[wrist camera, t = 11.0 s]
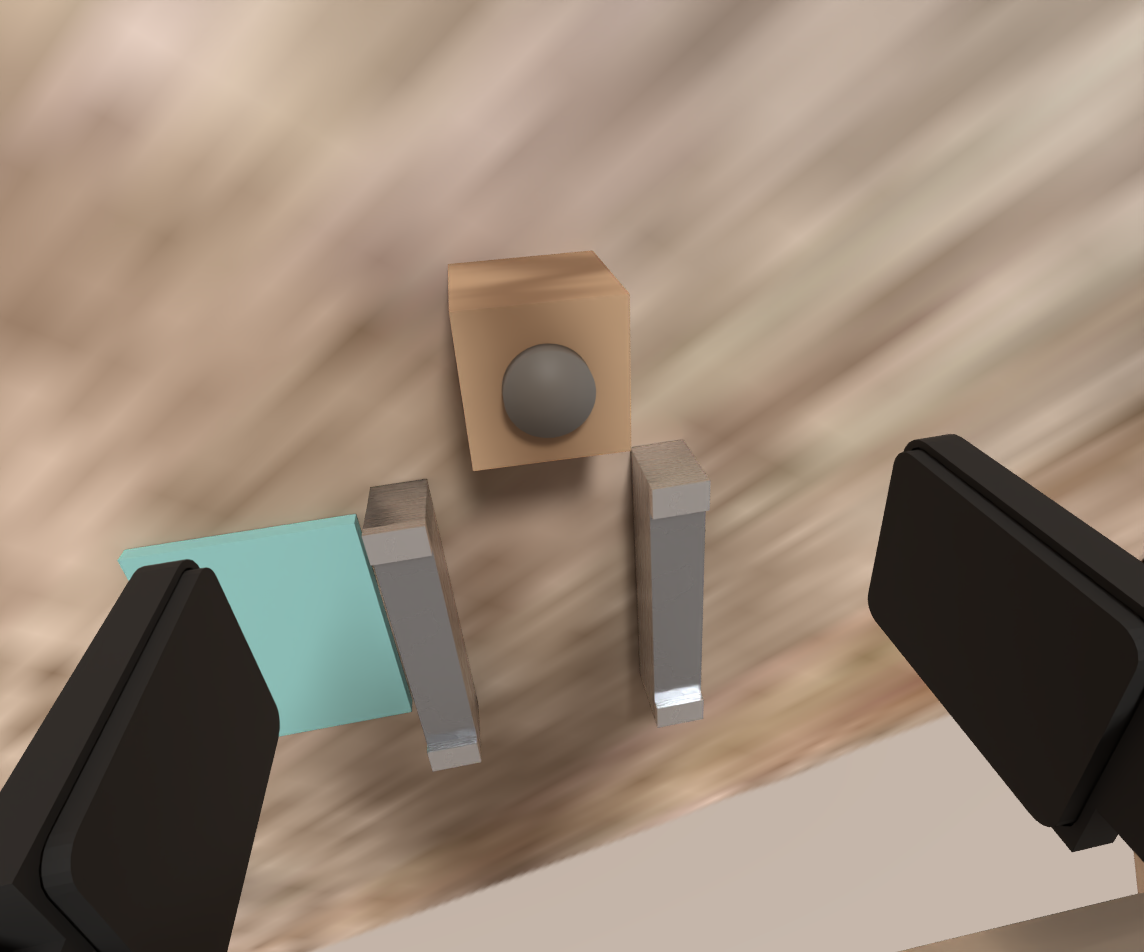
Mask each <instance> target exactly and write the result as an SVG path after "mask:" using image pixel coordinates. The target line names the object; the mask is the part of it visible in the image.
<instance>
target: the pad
mask: <svg viewBox="0 0 1144 952" xmlns="http://www.w3.org/2000/svg"><path fill="white" fill-rule="evenodd" d="M184 559H190V560H193V561H194V562H195V563H197V564H198V566H199V567H200V568H205V567H207V568H210V569H212V570H213V571H214V573H215V575H216V576H217V578H218V581H219V583H220V585H221V587H222V589H223V591H224V593H225V596H226V598H227V600H228V602H229V604H230V606H231V609H232V611H233V613H234V615H235V617H236V619H237V621H238V624H239V626H240V628H241V630H242V632H243V634H244V637H245V639H246V641H247V643H248V645H249V647H250V649H251V652H252V654H253V656H254V658H255V660H256V662H257V664H258V667H259V669H260V671H261V673H262V675H263V677H264V680H265V682H266V684H267V686H268V688H269V690H270V692H271V695H272V697H273V699H274V701H275V703H276V705H277V708H278V712H279V718H280V732H279V736H284V735H290V734H295V733H300V732H306V731H311V730H317V729H322V728H327V727H333V726H338V725H344V724H349V723H354V722H360V721H365V720H370V719H376V718H381V717H387V716H392V715H397V714H403V713H408V712H412V698H411V695H410V691H409V688H408V685H407V682H406V678H405V675H404V672H403V668H402V665H401V662H400V658H399V655H398V652H397V648H396V645H395V642H394V638H393V635H392V632H391V628H390V625H389V622H388V618H387V615H386V612H385V608H384V605H383V602H382V599H381V595H380V592H379V589H378V585H377V582H376V579H375V575H374V572H373V569H372V566H371V565H370V562H369V559H368V555H367V552H366V549H365V546H364V542H363V539H362V532H361V529H360V525H359V522H358V519H357V516H356V514H352V515H346V516H339V517H333V518H326V519H320V520H313V521H307V522H301V523H294V524H288V525H281V526H275V527H269V528H262V529H256V530H249V531H243V532H236V533H230V534H224V535H217V536H211V537H204V538H198V539H192V540H185V541H179V542H172V543H166V544H159V545H153V546H147V547H140V548H134V549H127V550H124V551H123V553H122V554H121V556H120V557H119V559H118V562H119V564H120V566H121V568H122V570H123V571H124V573H125V575H126V577H127V579H128V580H130V578H131V577H132V575H133V573H134V572H135V571H136V570H137V569H138V568H140V567H143V566H147V565H154V564H160V563H166V562H172V561H178V560H184Z"/></svg>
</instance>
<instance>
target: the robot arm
mask: <svg viewBox="0 0 1144 952" xmlns="http://www.w3.org/2000/svg"><path fill="white" fill-rule="evenodd" d="M868 605H869V609H870V612H871V614H872V616H873V618H874V620H875V621H876V622H877V624H878V625H879V626H880V627H881V629H882V630H883V631H884V632H885V634H886V635H887V636H888V637H889V639H890V640H891V641H892V642H893V644H894V645H895V646H896V647H897V649H898V650H899V651H900V652H901V654H902V655H903V656H904V657H905V659H906V660H907V661H908V662H909V664H910V665H911V666H912V667H913V669H914V670H915V671H916V672H917V674H918V675H919V676H920V677H921V679H922V680H923V681H924V682H925V684H926V685H927V686H928V687H929V689H930V690H931V691H932V692H933V694H934V695H935V696H936V697H937V699H938V700H939V701H940V702H941V704H942V705H943V706H944V707H945V709H946V710H947V711H948V712H949V714H950V715H951V716H952V717H953V719H954V720H955V721H956V722H957V723H958V725H959V726H960V727H961V729H962V730H963V731H964V732H965V733H966V735H967V736H968V737H969V738H970V740H971V741H972V742H973V743H974V745H975V746H976V747H977V748H978V750H979V751H980V752H981V753H982V755H983V756H984V757H985V758H986V760H987V761H988V762H989V763H990V765H991V766H992V767H993V768H994V770H995V771H996V772H997V773H998V775H999V776H1000V777H1001V778H1002V780H1003V781H1004V782H1005V783H1006V785H1007V786H1008V787H1009V788H1010V789H1011V791H1012V792H1013V793H1014V795H1015V796H1016V797H1017V798H1018V800H1019V801H1020V802H1021V803H1022V804H1023V806H1024V807H1025V808H1026V810H1027V811H1028V812H1029V813H1030V814H1031V815H1032V816H1033V818H1034V819H1035V820H1036V821H1038V822H1039V823H1041V824H1042V825H1044V826H1047V827H1052V828H1053V829H1054V831H1055V832H1056V833H1057V834H1058V836H1059V837H1060V838H1061V839H1062V841H1063V842H1064V843H1065V844H1066V846H1067V847H1068V848H1069V849H1070V850H1071V852H1075V851H1080V850H1084V849H1088V848H1092V847H1096V846H1101V845H1104V844H1109V843H1113V842H1114V840H1115V839H1116V837H1117V835H1118V834H1119V835H1120V836H1121V838H1122V839H1123V840H1124V841H1125V842H1126V843H1127V844H1128V845H1129V847H1130V848H1131V849H1132V850H1133V851H1134V859H1135V869H1136V878H1137V888H1138V894H1135V895H1131V896H1126V897H1122V898H1119V899H1114V900H1110V901H1106V902H1101V903H1098V904H1093V905H1089V906H1085V907H1081V908H1077V909H1073V910H1068V911H1064V912H1060V913H1056V914H1052V915H1048V916H1043V917H1040V918H1035V919H1031V920H1027V921H1023V922H1019V923H1015V924H1010V925H1006V926H1002V927H998V928H994V929H990V930H986V931H981V932H977V933H973V934H969V935H965V936H960V937H957V938H952V939H949V940H944V941H940V942H936V943H932V944H927V945H923V946H919V947H915V948H911V949H907V950H903V951H899V952H1144V563H1142V562H1141V561H1140V560H1138V559H1137V558H1135V557H1134V556H1132V555H1131V554H1129V553H1128V552H1127V551H1125V550H1124V549H1122V548H1121V547H1119V546H1118V545H1116V544H1115V543H1114V542H1112V541H1111V540H1109V539H1108V538H1106V537H1105V536H1103V535H1102V534H1101V533H1099V532H1098V531H1096V530H1095V529H1093V528H1092V527H1090V526H1089V525H1088V524H1086V523H1085V522H1083V521H1082V520H1080V519H1079V518H1077V517H1076V516H1075V515H1073V514H1072V513H1070V512H1069V511H1067V510H1066V509H1064V508H1063V507H1062V506H1060V505H1059V504H1057V503H1056V502H1054V501H1053V500H1051V499H1050V498H1048V497H1047V496H1046V495H1044V494H1043V493H1041V492H1040V491H1038V490H1037V489H1035V488H1034V487H1033V486H1031V485H1030V484H1028V483H1027V482H1025V481H1024V480H1022V479H1021V478H1020V477H1018V476H1017V475H1015V474H1014V473H1012V472H1011V471H1009V470H1008V469H1007V468H1005V467H1004V466H1002V465H1001V464H999V463H998V462H996V461H995V460H994V459H992V458H991V457H989V456H988V455H986V454H985V453H983V452H982V451H981V450H979V449H978V448H976V447H975V446H973V445H972V444H970V443H969V442H968V441H966V440H965V439H963V438H962V437H960V436H957V435H955V434H948V435H942V436H936V437H929V438H923V439H917V440H913V441H911V442H909V443H908V445H907V446H906V447H905V449H904V452H902V453H900V454H898V456H897V457H896V458H895V461H894V465H893V470H892V475H891V480H890V485H889V491H888V496H887V501H886V506H885V511H884V516H883V521H882V526H881V531H880V536H879V541H878V547H877V552H876V557H875V562H874V567H873V572H872V577H871V582H870V587H869V592H868ZM279 732H280V718H279V712H278V708H277V705H276V703H275V701H274V699H273V697H272V695H271V692H270V690H269V688H268V686H267V684H266V682H265V680H264V677H263V675H262V673H261V671H260V669H259V667H258V664H257V662H256V660H255V658H254V656H253V654H252V652H251V649H250V647H249V645H248V643H247V641H246V639H245V637H244V634H243V632H242V630H241V628H240V626H239V624H238V621H237V619H236V617H235V615H234V613H233V611H232V609H231V606H230V604H229V602H228V600H227V598H226V596H225V593H224V591H223V589H222V587H221V585H220V583H219V581H218V578H217V576H216V575H215V573H214V571H213V570H212V569H210V568H207V567H205V568H200V567H199V566H198V564H197V563H195V562H194V561H193V560H190V559H184V560H178V561H172V562H166V563H160V564H154V565H147V566H143V567H140V568H138V569H137V570H136V571H135V572H134V573H133V575H132V577H131V578H130V580H129V582H128V583H127V585H126V587H125V588H124V590H123V592H122V593H121V595H120V596H119V598H118V600H117V601H116V603H115V605H114V606H113V608H112V610H111V611H110V613H109V614H108V616H107V618H106V619H105V621H104V623H103V624H102V626H101V628H100V629H99V631H98V633H97V634H96V636H95V637H94V639H93V641H92V642H91V644H90V646H89V647H88V649H87V651H86V652H85V654H84V656H83V657H82V659H81V660H80V662H79V664H78V665H77V667H76V669H75V670H74V672H73V674H72V675H71V677H70V678H69V680H68V682H67V683H66V685H65V687H64V688H63V690H62V692H61V693H60V695H59V697H58V698H57V700H56V701H55V703H54V705H53V706H52V708H51V710H50V711H49V713H48V715H47V716H46V718H45V720H44V721H43V723H42V724H41V726H40V728H39V729H38V731H37V733H36V734H35V736H34V738H33V739H32V741H31V742H30V744H29V746H28V747H27V749H26V751H25V752H24V754H23V756H22V757H21V759H20V761H19V762H18V764H17V765H16V767H15V769H14V770H13V772H12V774H11V775H10V777H9V779H8V780H7V782H6V784H5V785H4V787H3V788H2V790H1V792H0V952H227V950H228V946H229V942H230V938H231V933H232V929H233V925H234V921H235V917H236V913H237V908H238V904H239V900H240V896H241V892H242V888H243V883H244V879H245V875H246V871H247V867H248V862H249V858H250V854H251V850H252V846H253V842H254V837H255V833H256V829H257V825H258V821H259V817H260V812H261V808H262V804H263V800H264V796H265V792H266V787H267V783H268V779H269V775H270V771H271V767H272V762H273V758H274V754H275V750H276V746H277V742H278V737H279Z"/></svg>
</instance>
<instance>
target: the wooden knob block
mask: <svg viewBox="0 0 1144 952" xmlns="http://www.w3.org/2000/svg"><path fill="white" fill-rule="evenodd" d="M448 292H449V316H450V323H451V329H452V336H453V343H454V349H455V356H456V362H457V369H458V375H459V382H460V389H461V395H462V402H463V408H464V415H465V421H466V428H467V435H468V441H469V448H470V454H471V461H472V468H473V471H478V470H486V469H494V468H502V467H509V466H517V465H525V464H533V463H540V462H548V461H556V460H564V459H572V458H579V457H587V456H595V455H603V454H610V453H618V452H626V451H631V385H630V294H629V293H628V291H627V290H626V289H625V288H624V287H623V286H622V284H621V283H620V282H619V281H618V280H617V279H616V277H615V276H614V275H613V274H612V273H611V272H610V270H609V269H608V268H607V267H606V266H605V265H604V263H603V262H602V261H601V260H600V259H599V258H598V256H597V255H596V254H595V253H594V252H593V251H583V252H573V253H562V254H551V255H541V256H530V257H520V258H509V259H498V260H488V261H477V262H467V263H456V264H448Z"/></svg>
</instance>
